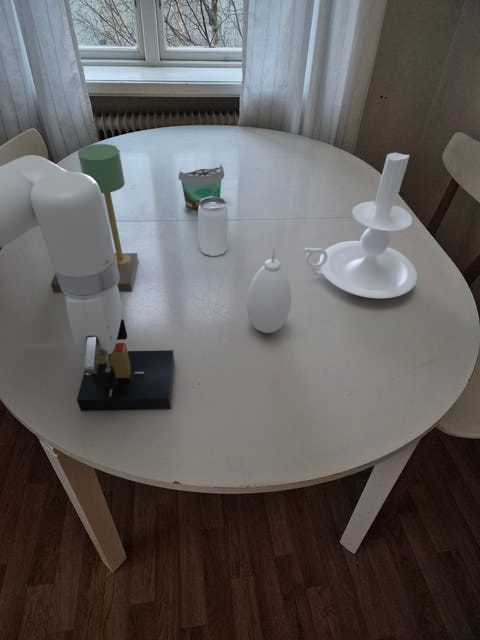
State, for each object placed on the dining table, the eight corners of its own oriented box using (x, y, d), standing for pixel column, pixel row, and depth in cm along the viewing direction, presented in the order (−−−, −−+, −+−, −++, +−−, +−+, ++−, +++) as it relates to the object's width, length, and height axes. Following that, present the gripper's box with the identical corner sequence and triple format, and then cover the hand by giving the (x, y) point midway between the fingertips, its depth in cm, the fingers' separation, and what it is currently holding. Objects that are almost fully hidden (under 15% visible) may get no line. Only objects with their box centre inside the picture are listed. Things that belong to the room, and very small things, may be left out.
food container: (188, 217, 112) (185, 180, 105) (180, 206, 116) (177, 170, 109) (231, 208, 116) (231, 172, 109) (222, 198, 120) (222, 163, 113)
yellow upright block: (98, 378, 68) (89, 352, 64) (100, 369, 70) (92, 342, 66) (129, 378, 69) (123, 351, 64) (131, 368, 70) (125, 342, 66)
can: (225, 240, 104) (225, 194, 96) (229, 256, 99) (229, 209, 91) (198, 242, 103) (196, 196, 95) (201, 258, 99) (199, 211, 90)
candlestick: (290, 254, 100) (306, 131, 81) (392, 250, 103) (430, 129, 84) (310, 313, 86) (335, 180, 66) (428, 307, 88) (485, 176, 69)
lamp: (100, 270, 88) (73, 159, 72) (106, 251, 93) (82, 143, 77) (135, 270, 88) (116, 160, 72) (139, 251, 93) (122, 144, 77)
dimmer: (80, 411, 67) (76, 399, 65) (93, 363, 75) (89, 350, 73) (170, 409, 68) (168, 397, 66) (174, 361, 75) (173, 349, 73)
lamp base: (53, 292, 88) (47, 277, 86) (66, 261, 96) (61, 246, 94) (132, 291, 89) (129, 276, 86) (138, 260, 97) (136, 246, 94)
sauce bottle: (264, 309, 86) (271, 231, 74) (295, 328, 82) (307, 249, 70) (237, 328, 82) (240, 248, 70) (268, 349, 78) (276, 269, 66)
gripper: (74, 236, 61) (98, 323, 73) (38, 318, 49) (75, 407, 60) (126, 235, 62) (143, 322, 73) (105, 316, 49) (129, 405, 61)
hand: (112, 360), depth 67 cm, fingers open, 9 cm apart
